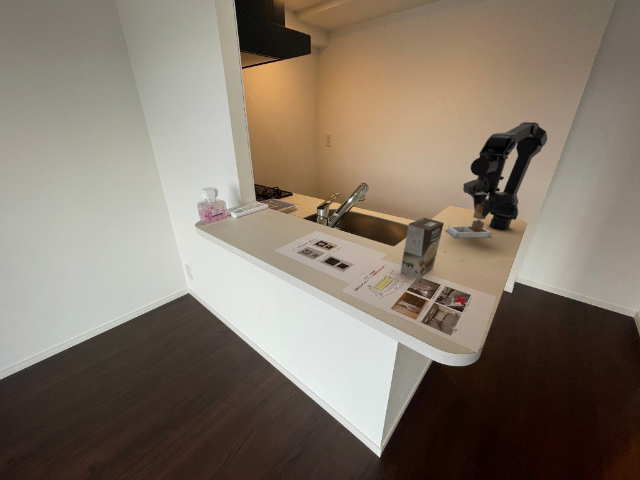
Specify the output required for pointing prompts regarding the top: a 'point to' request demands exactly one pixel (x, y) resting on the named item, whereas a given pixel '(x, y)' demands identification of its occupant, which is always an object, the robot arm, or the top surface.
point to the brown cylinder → (479, 211)
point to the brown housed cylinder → (477, 226)
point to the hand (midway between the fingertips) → (480, 214)
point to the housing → (466, 232)
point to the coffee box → (421, 247)
